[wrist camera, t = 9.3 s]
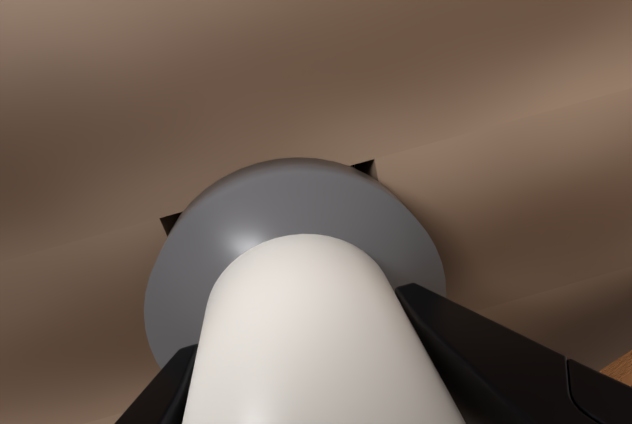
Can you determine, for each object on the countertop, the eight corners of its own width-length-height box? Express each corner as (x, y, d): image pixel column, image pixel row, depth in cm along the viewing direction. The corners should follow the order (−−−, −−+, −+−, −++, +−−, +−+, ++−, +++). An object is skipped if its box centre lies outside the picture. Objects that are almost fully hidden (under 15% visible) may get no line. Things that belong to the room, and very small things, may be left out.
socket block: (-259, 57, 10) (-652, 66, 5) (632, -172, 10) (890, -324, 6) (66, 489, 16) (-2, 646, 12) (607, 331, 16) (725, 427, 12)
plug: (149, 161, 12) (-120, 443, 3) (366, 103, 12) (615, 236, 4) (223, 336, 14) (170, 744, 6) (401, 285, 14) (593, 614, 6)
